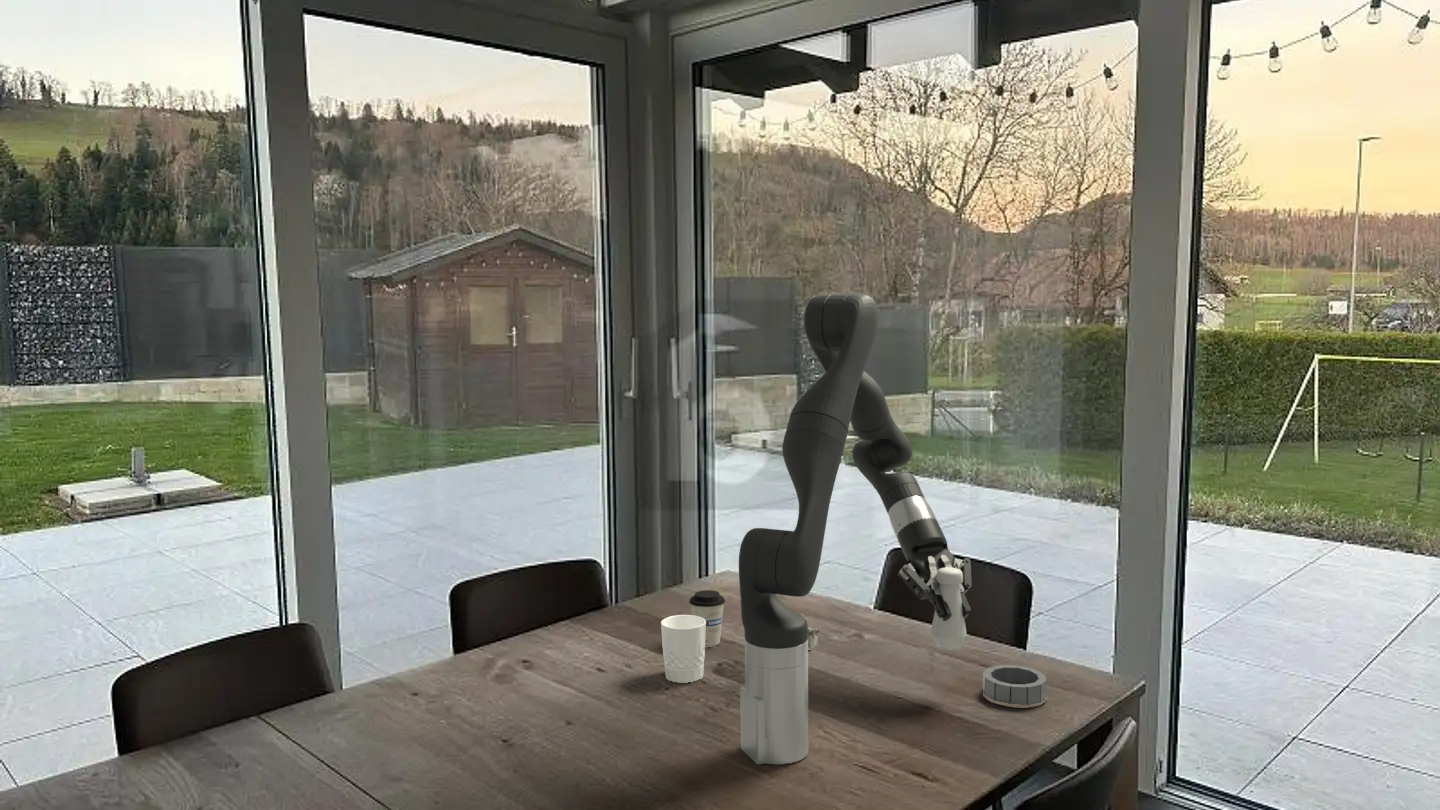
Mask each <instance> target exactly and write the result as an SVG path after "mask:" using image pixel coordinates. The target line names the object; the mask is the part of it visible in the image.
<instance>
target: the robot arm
mask: <svg viewBox="0 0 1440 810" xmlns="http://www.w3.org/2000/svg"><path fill="white" fill-rule="evenodd" d="M803 315H804V316H803V324H804V325H803V326H804V332H805V336H806V339H807V341H808V344H809V345H810V347H811V349H812V352H813V353H814V354H815V356H816V358H817V360H818V361H819V363H820V364H821V366H822V367H823V370H824V372H825V373H824V374H823V375H822V376H821V377H820V378H819V379H818V380H817V381H815V382H814V384H813V385H811V386H810V387H809V389H807V390H806V392H805V393H803V394H802V396H801V397H800V398H799V399H798V401H797V402H796V403H795V405H794V406H793V408H792V410H791V413H790V415H789V418H788V423H787V425H786V429H785V433H784V436H783V441H782V446H781V450H782V456H783V460H784V464H785V466H786V469H787V472H788V475H789V477H790V480H791V482H792V484H793V487H794V490H795V493H796V496H797V500H798V517H797V522H796V523H797V524H796V525H795V528H794V530H785V529H773V528H766V527H765V528H764V527H754V528H752V529H749V530H748V531H747V532H746V533H745V535H744V536H743V538H742V541H741V544H740V548H739V554H738V580H739V593H740V594H739V597H740V607H741V608H740V611H741V614H740V615H741V621H742V625H743V630H744V631H743V632H744V685H743V686H742V685H741V686H740V688H739V704H740V705H739V707H740V708H739V711H740V712H739V713H740V718H739V719H740V721H739V722H740V724H739V725H740V749H741V750H742V751H743V753H745V754H746V755H747V756H748V757H749V758H750V759H751V760H752V761H753V762H754V763H755V764H756V765H764V764H765V765H767V764H769V765H786V763H787V764H788V763H789V764H793V762H794V763H797V762H799V761H801V760H803V759H805V758H806V757H807V755H808V754H809V650H808V627H809V626H808V622H807V620H806V618H805V617H804V616H803V615H802V614H800V612H797V611H795V610H794V609H792V608H790V607H789V606H787V605H786V604H784V602H782V600H780V599H779V597H778V596H777V595H779V596H788V597H797V598H798V597H805V596H806V595H808V594H809V593H810V592H811V591H812V589H813V587H814V585H815V582H816V580H817V576H818V573H819V569H820V563H821V558H822V552H823V546H824V538H825V535H826V534H825V533H826V526H827V521H828V514H829V510H830V509H829V508H830V504H831V499H832V495H833V491H834V487H835V482H836V479H837V475H838V472H839V467H840V464H841V461H842V457H843V454H844V450H845V445H846V442H847V438H848V434H849V429H850V424H851V427H852V430H853V432H854V434H855V435H856V436H857V437H858V438H859V439H861V440H859V441H857V442H856V443H855V444H854V446H853V448H852V454H851V455H852V460H853V463H854V466H856V468H857V469H858V471H859V472H860V473H861V474H862V475H863V476H864V477H865V479H866V480H868V482H869V484H871V485H872V486H873V488H874V489H875V491H876V492H877V493H878V495H879V497H880V499H881V502H882V504H883V506H884V508H885V511H886V513H887V515H888V518H889V521H890V525H891V527H892V530H893V533H894V534H895V537H896V540H897V541H898V543H899V546H900V549H901V550H902V553H903V554H904V557H905V559H906V561H908V562H907V564H904V565H902V567H901V569H900V570H899V571H898V573H897V576H898V577H899V579H900V580H901V581H902V582H903V583H904V584H905V585H906V586H907V587H908V588H909V590H911V592H912V593H913V594H914V595H915V596H916V597H917V599H919V600H921V601H923V600H927V601H929V602H931V604H932V606H933V609H934V611H935V610H936V612H937V615H938V616H939V618H943V621H946V620H948V619H949V618H950V617H951V615H952V614H951V611H950V609H949V607H948V604H947V602H945V601H944V599H943V597H942V595H940V594H941V590H940V583H938V582H937V571H938V570H939V569H941V568H945V567H952V568H957V569H959V570H961V571H962V574H963V582H962V584H960V585H959V588H960V594H961V601H962V607H963V618H964V619H967V617H968V616H970V613H971V610H972V609H971V608H972V607H971V606H970V603H969V602H968V599H967V597H966V593H967V592H968V591H969V590H970V589H971V587H972V586H973V581H972V565H971V564H972V563H971V562H972V561H971V559H970V558H969V557H964V559H960V558H956V557H955V555H954V554H953V553H952V552H951V551H950V550H949V546H948V540H947V539H946V536H945V534H944V532H943V530H942V528H941V526H940V524H939V522H938V520H937V517H936V515H935V513H934V510H933V509H932V508H931V505H930V504H929V503H928V500H927V499H926V497H925V495H924V493H923V491H922V489H921V487H920V484H919V482H918V480H917V478H916V477H915V476H914V474H913V473H910V472H907V471H903V472H902V471H901V472H900V471H899V472H892V473H889V472H890V471H893V470H895V469H897V468H900V467H902V466H905V465H906V464H908V463H909V462H910V461H911V459H912V456H913V448H912V447H913V446H912V445H911V441H910V440H909V438H908V436H906V435H905V433H904V432H903V431H902V430H901V428H900V427H899V426H898V425H897V423H895V421H894V419H893V417H892V414H891V412H890V408H889V405H888V402H887V400H886V396H885V393H884V392H883V390H882V388H881V386H880V385H879V384H878V383H877V382H876V380H874V378H872V376H871V375H870V374H868V373H867V372H866V371H865V368H866V365H867V362H868V360H869V357H870V355H871V352H872V349H873V345H874V342H875V338H876V334H877V329H878V321H879V312H878V307H877V304H876V301H875V300H874V299H873V298H872V297H871V296H870V295H868V294H861V293H843V294H842V293H841V294H822V295H816V296H814V297H812V298H811V299H810V300H809V301H808V303H807V305H806V307H805V310H804V314H803Z"/></svg>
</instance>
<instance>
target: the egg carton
mask: <svg viewBox="0 0 1440 810" xmlns="http://www.w3.org/2000/svg"><path fill="white" fill-rule="evenodd" d="M818 634H820V630H819V628H817V627H813V628H812V627H809V626H808V647H809V648H814V647H815V645H817V646H818V642H819V639H818V636H817V635H818Z"/></svg>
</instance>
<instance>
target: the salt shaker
mask: <svg viewBox="0 0 1440 810" xmlns="http://www.w3.org/2000/svg"><path fill="white" fill-rule="evenodd" d="M937 582H938V583H939V586H940V590H941V594H940V595H942V597H943V599H944V601H945V602H947V604H948V607H949V609H950V611H951V614H952V615H951V617H950V618H949V619H948V620H946V621H943V618H939V616H938V615H937V612H936V610H935V609H934V614H933V620H932V624H931V628H930V635H931V638H932V640H933V643H934V645H935V647H937V648H938V649H940V650H947V651H956V650H958V649H961V648H962V647H963V644H964V643H965V640H966V638H967V628H966V626H967V625H966V621H965V618H963V607H962V601H961V594H960V588H959V585H960V584H962V582H963V574H962V571H961V570H959V569H957V568H955V567H953V568H952V567H945V568H941V569H939V570H938V571H937Z"/></svg>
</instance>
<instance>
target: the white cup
mask: <svg viewBox="0 0 1440 810" xmlns="http://www.w3.org/2000/svg"><path fill="white" fill-rule="evenodd" d="M660 626H661V627H660V628H661V640H662V641H661V645H662V655H663V664H664V673H665V678H666V680H668V682H669V681H670V682H671V681H672V682H673V683H676V682H677V684H689V683H688V682H691V683H695V682H698V681H700V680H701V679H702V678H703V677H704V672H705V671H704V664H705V663H704V662H705V657H706V656H705V655H706V653H705V652H706V648H705V632H706V620H705V619H704V618H702V617H699V616H694V615H692V614H677V615H676V614H675V615H672V616H668V617H665V618H664V619H662V620H661V621H660ZM699 679H700V680H699ZM697 680H698V681H697ZM694 681H695V682H694ZM672 682H671V683H672Z"/></svg>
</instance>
